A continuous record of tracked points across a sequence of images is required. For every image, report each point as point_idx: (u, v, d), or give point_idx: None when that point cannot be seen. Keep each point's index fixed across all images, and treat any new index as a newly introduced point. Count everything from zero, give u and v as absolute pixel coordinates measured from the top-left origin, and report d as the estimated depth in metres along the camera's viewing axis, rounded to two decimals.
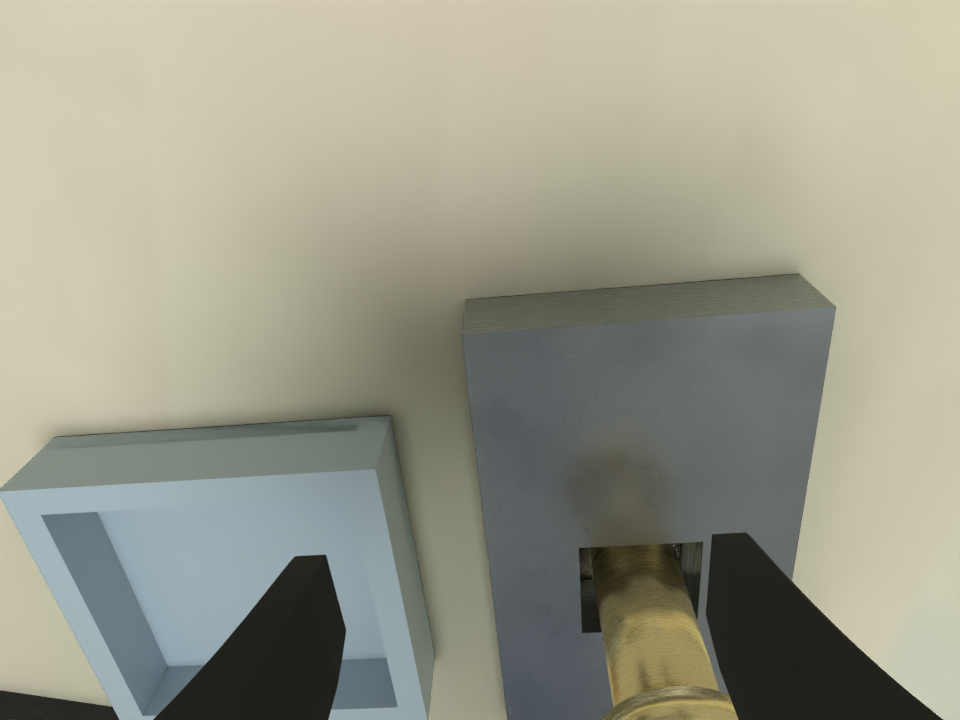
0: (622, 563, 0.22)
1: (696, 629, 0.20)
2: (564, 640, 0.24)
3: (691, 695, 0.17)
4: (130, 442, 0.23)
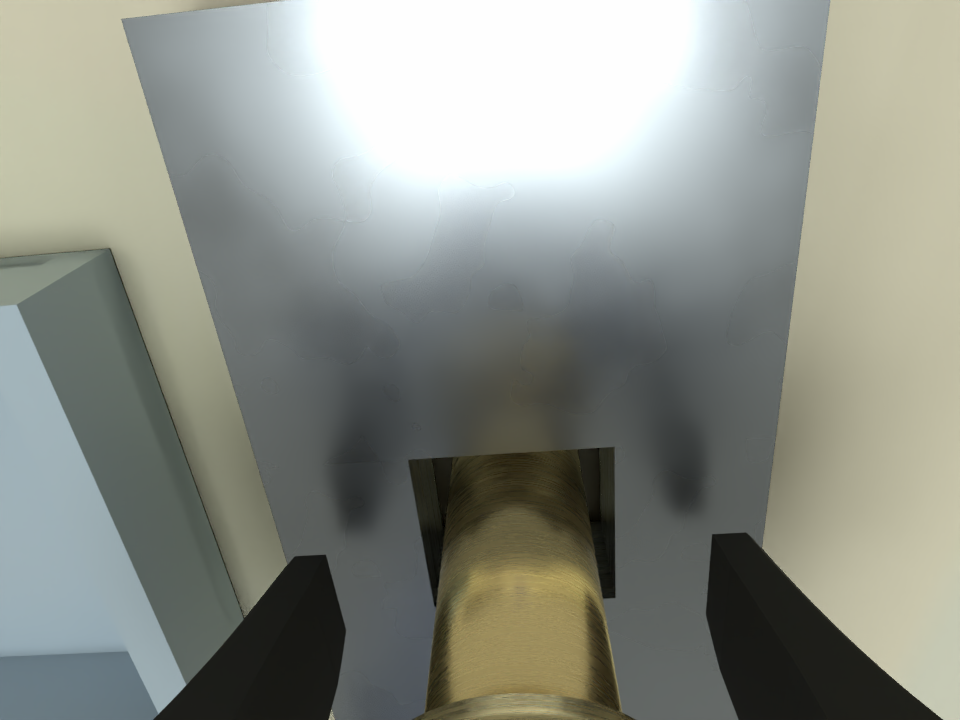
0: (481, 486, 0.13)
1: (589, 590, 0.11)
2: (407, 618, 0.15)
3: (535, 713, 0.08)
4: None
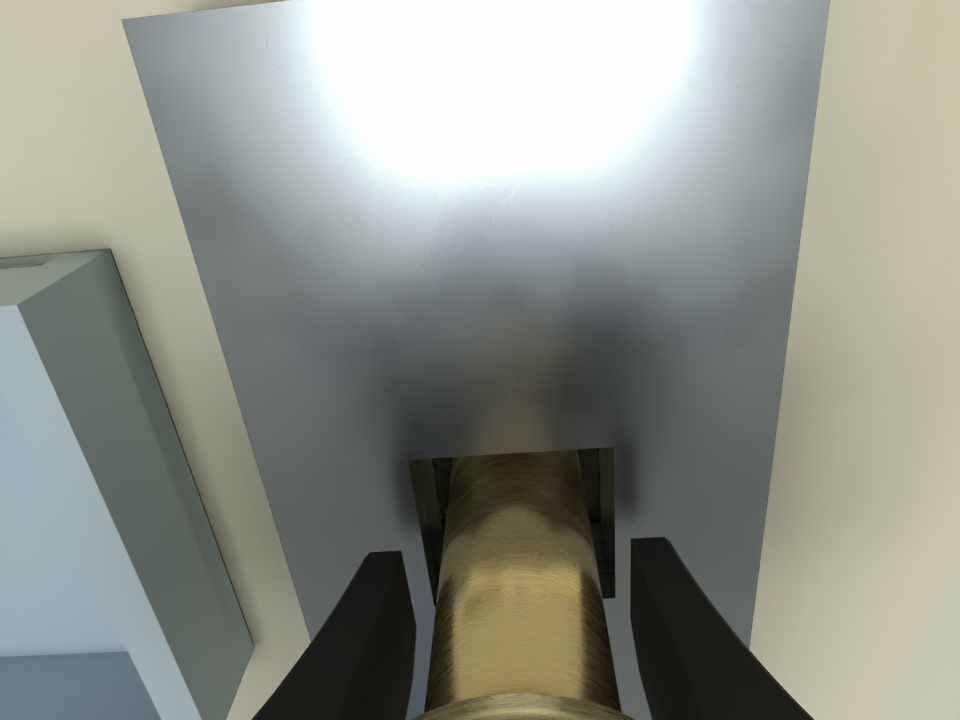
0: (481, 486, 0.13)
1: (589, 590, 0.11)
2: None
3: (534, 713, 0.08)
4: None
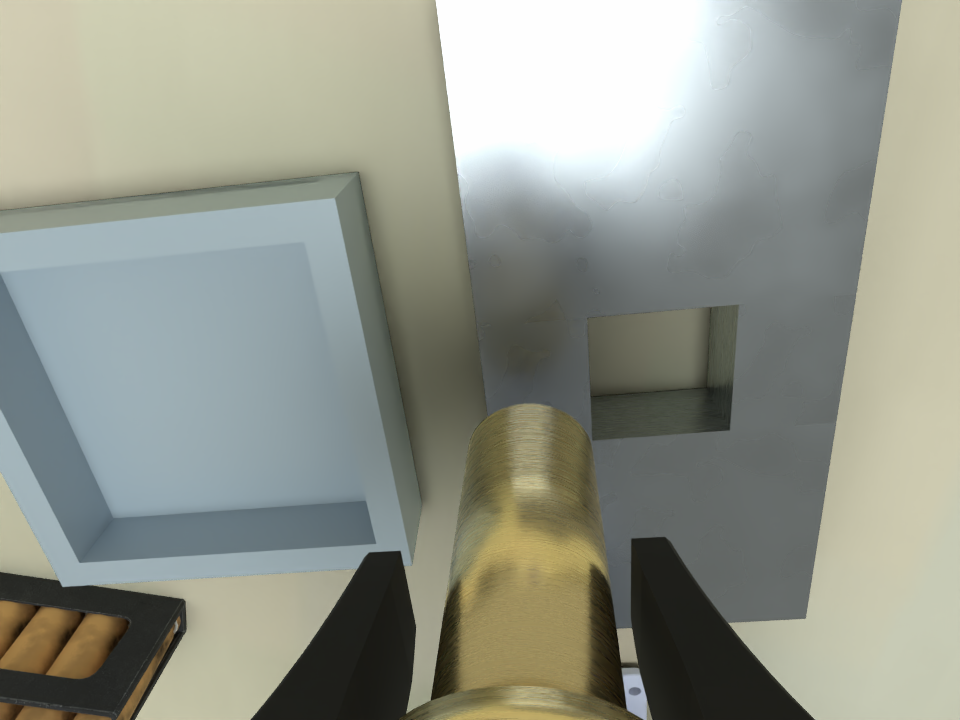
0: (494, 480, 0.13)
1: (598, 587, 0.11)
2: None
3: (537, 706, 0.08)
4: (49, 209, 0.19)
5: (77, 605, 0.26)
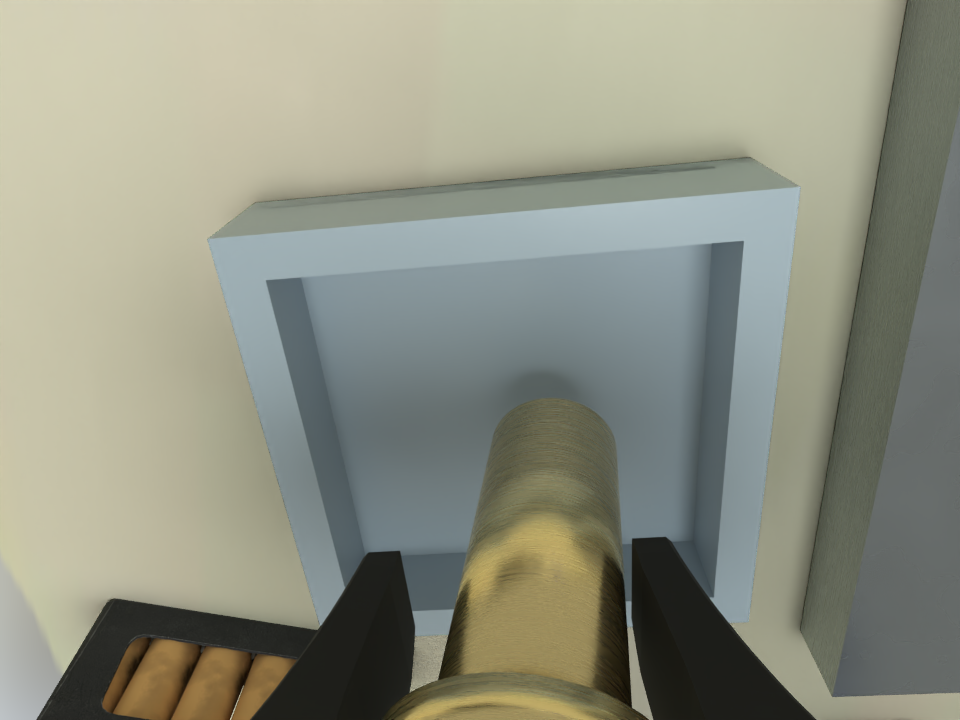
0: (512, 472, 0.13)
1: (610, 582, 0.11)
2: None
3: (534, 693, 0.08)
4: (375, 197, 0.16)
5: (301, 653, 0.23)
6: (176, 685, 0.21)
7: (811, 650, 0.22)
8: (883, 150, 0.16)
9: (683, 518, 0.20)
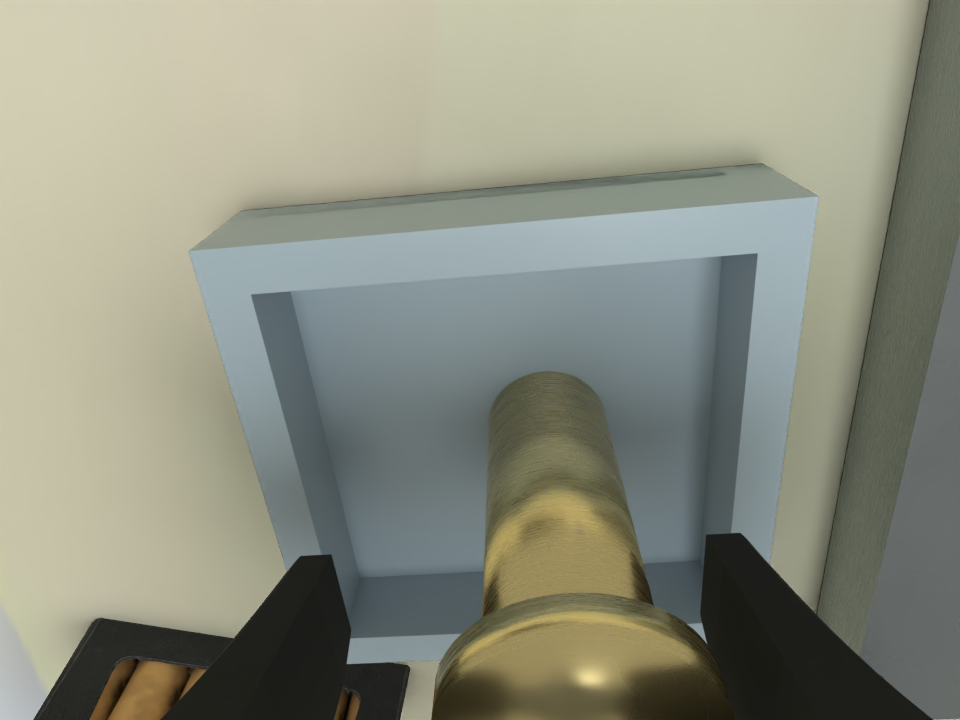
0: (522, 438, 0.14)
1: (626, 524, 0.12)
2: None
3: (591, 607, 0.09)
4: (367, 206, 0.15)
5: None
6: (162, 710, 0.21)
7: None
8: (902, 156, 0.15)
9: (690, 537, 0.19)
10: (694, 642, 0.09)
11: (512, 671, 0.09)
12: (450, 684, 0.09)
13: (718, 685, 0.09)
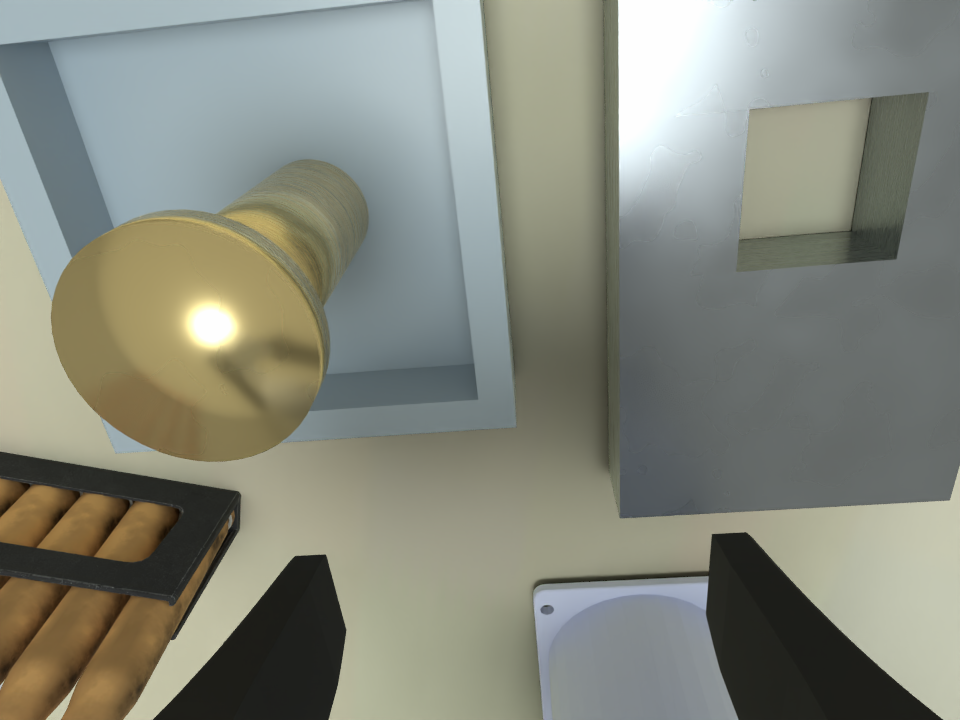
0: (250, 189, 0.16)
1: (305, 232, 0.14)
2: (709, 286, 0.18)
3: (176, 215, 0.11)
4: None
5: (123, 492, 0.23)
6: None
7: (612, 483, 0.23)
8: None
9: (467, 338, 0.20)
10: (274, 252, 0.11)
11: (101, 263, 0.10)
12: (58, 285, 0.11)
13: (283, 279, 0.11)
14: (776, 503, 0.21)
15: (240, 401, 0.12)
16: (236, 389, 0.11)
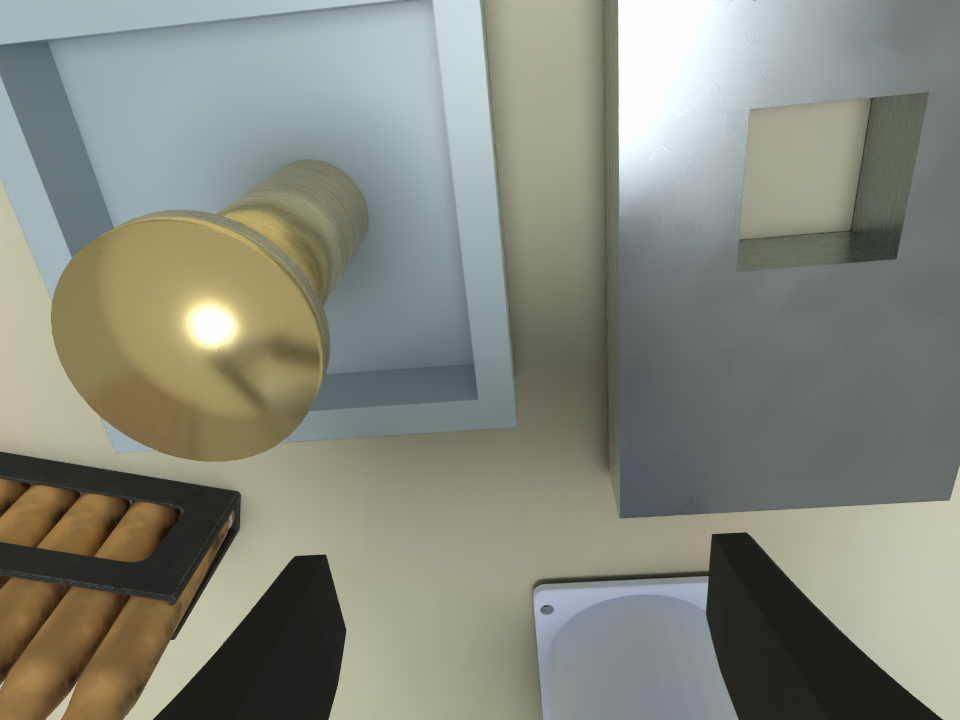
0: (250, 189, 0.16)
1: (305, 232, 0.14)
2: (709, 286, 0.18)
3: (176, 215, 0.11)
4: None
5: (123, 492, 0.23)
6: None
7: (612, 483, 0.23)
8: None
9: (467, 338, 0.20)
10: (274, 252, 0.11)
11: (101, 263, 0.10)
12: (58, 285, 0.11)
13: (283, 279, 0.11)
14: (776, 503, 0.21)
15: (240, 401, 0.12)
16: (236, 389, 0.11)
